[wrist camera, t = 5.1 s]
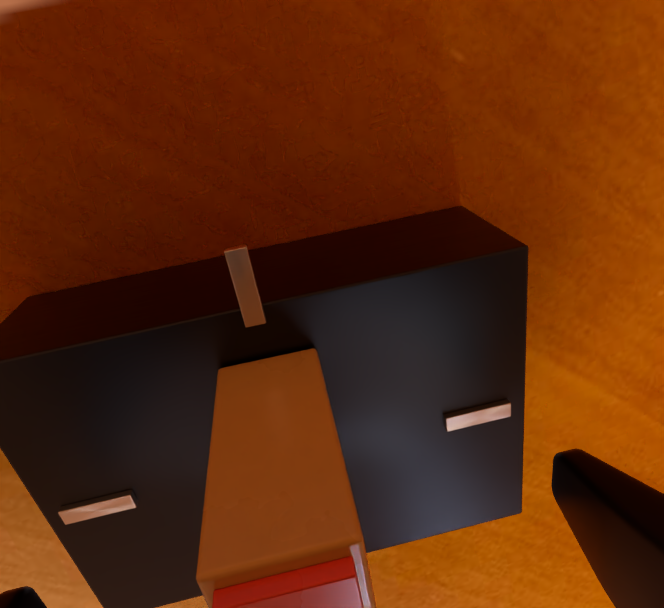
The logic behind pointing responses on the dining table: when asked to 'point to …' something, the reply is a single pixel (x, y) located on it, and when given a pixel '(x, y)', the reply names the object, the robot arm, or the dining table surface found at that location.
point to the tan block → (279, 494)
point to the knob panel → (259, 343)
